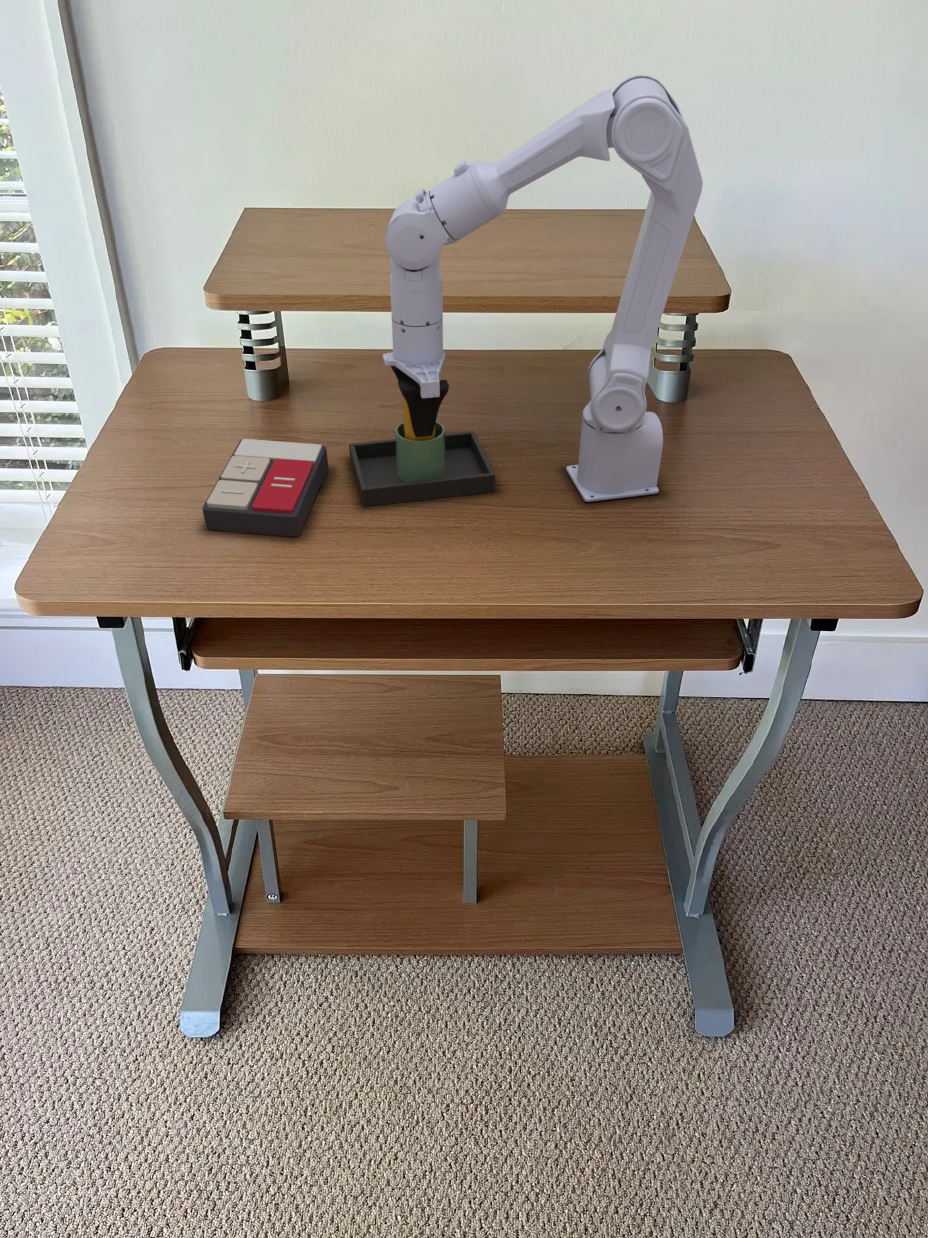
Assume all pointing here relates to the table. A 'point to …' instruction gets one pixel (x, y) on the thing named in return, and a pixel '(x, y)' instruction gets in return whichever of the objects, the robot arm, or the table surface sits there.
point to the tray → (461, 477)
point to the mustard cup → (408, 426)
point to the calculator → (267, 488)
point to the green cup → (420, 456)
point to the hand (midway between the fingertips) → (419, 426)
